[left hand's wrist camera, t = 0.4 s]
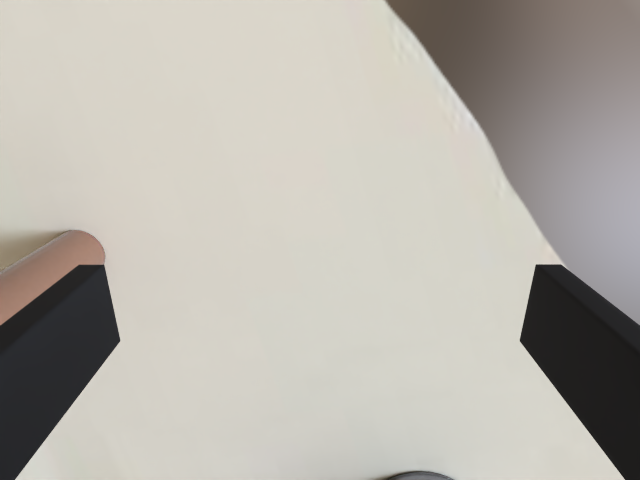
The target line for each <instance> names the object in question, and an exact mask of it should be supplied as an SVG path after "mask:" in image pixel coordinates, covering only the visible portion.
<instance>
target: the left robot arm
mask: <svg viewBox="0 0 640 480" xmlns="http://www.w3.org/2000/svg"><path fill="white" fill-rule="evenodd" d="M119 342H120V337H119V332H118V328H117V323H116V318H115V314H114V309H113V304H112V299H111V295H110V290H109V285H108V281H107V276H106V271H105V267H104V265H78V266H76V267H75V268H74V269H73V270H71V271H70V272H69V273H67V274H66V275H65V276H64V277H62V278H61V279H60V280H58V281H57V282H56V283H55V284H53V285H52V286H51V287H49V288H48V289H47V290H45V291H44V292H43V293H42V294H40V295H39V296H38V297H36V298H35V299H34V300H33V301H31V302H30V303H29V304H27V305H26V306H25V307H24V308H22V309H21V310H20V311H18V312H17V313H16V314H14V315H13V316H12V317H11V318H9V319H8V320H7V321H5V322H4V323H3V324H2V325H0V480H15V479H16V477H17V476H18V475H19V474H20V472H21V471H22V470H23V468H24V467H25V466H26V464H27V463H28V462H29V460H30V459H31V458H32V456H33V455H34V454H35V452H36V451H37V450H38V448H39V447H40V446H41V445H42V443H43V442H44V441H45V439H46V438H47V437H48V435H49V434H50V433H51V431H52V430H53V429H54V427H55V426H56V425H57V423H58V422H59V421H60V420H61V418H62V417H63V416H64V414H65V413H66V412H67V410H68V409H69V408H70V406H71V405H72V404H73V402H74V401H75V400H76V398H77V397H78V396H79V395H80V393H81V392H82V391H83V389H84V388H85V387H86V385H87V384H88V383H89V381H90V380H91V379H92V377H93V376H94V375H95V373H96V372H97V371H98V370H99V368H100V367H101V366H102V364H103V363H104V362H105V360H106V359H107V358H108V356H109V355H110V354H111V352H112V351H113V350H114V348H115V347H116V346H117V344H118V343H119ZM520 342H521V343H522V344H523V346H524V347H525V348H526V350H527V351H528V352H529V354H530V355H531V356H532V358H533V359H534V360H535V362H536V363H537V364H538V366H539V367H540V368H541V370H542V371H543V372H544V373H545V375H546V376H547V377H548V379H549V380H550V381H551V383H552V384H553V385H554V387H555V388H556V389H557V391H558V392H559V393H560V395H561V396H562V397H563V398H564V400H565V401H566V402H567V404H568V405H569V406H570V408H571V409H572V410H573V412H574V413H575V414H576V416H577V417H578V418H579V420H580V421H581V422H582V423H583V425H584V426H585V427H586V429H587V430H588V431H589V433H590V434H591V435H592V437H593V438H594V439H595V441H596V442H597V443H598V445H599V446H600V447H601V448H602V450H603V451H604V452H605V454H606V455H607V456H608V458H609V459H610V460H611V462H612V463H613V464H614V466H615V467H616V468H617V470H618V471H619V472H620V474H621V475H622V476H623V477H624V479H625V480H640V325H638V324H637V323H636V322H635V321H633V320H632V319H631V318H629V317H628V316H627V315H626V314H624V313H623V312H622V311H620V310H619V309H618V308H616V307H615V306H614V305H613V304H611V303H610V302H609V301H607V300H606V299H605V298H604V297H602V296H601V295H600V294H598V293H597V292H596V291H595V290H593V289H592V288H591V287H589V286H588V285H587V284H585V283H584V282H583V281H582V280H580V279H579V278H578V277H576V276H575V275H574V274H573V273H571V272H570V271H569V270H567V269H566V268H565V267H564V266H562V265H536V267H535V271H534V276H533V281H532V285H531V290H530V295H529V299H528V304H527V309H526V314H525V318H524V323H523V328H522V332H521V337H520ZM388 480H453V479H451V478H449V477H447V476H444V475H440V474H436V473H429V472H415V473H407V474H402V475H399V476H396V477H393V478H390V479H388Z"/></svg>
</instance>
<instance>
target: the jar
mask: <svg viewBox="0 0 640 480" xmlns="http://www.w3.org/2000/svg"><path fill="white" fill-rule="evenodd" d="M104 262H105V252H104V249H103V247H102V245H101V244H100V242H99V241H98V240H97V239H96V238H95V237H93V236H92V235H90V234H88V233H86V232H83V231H79V230H71V231H67V232H64V233H63V234H61V235H59V236H58V237H56V238H54V239H53V240H51V241H49V242H48V243H46V244H44V245H43V246H41V247H39V248H38V249H36V250H34V251H33V252H31V253H30V254H28V255H26V256H25V257H23V258H21V259H20V260H18V261H16V262H15V263H13V264H11V265H10V266H8V267H6V268H5V269H3V270H1V271H0V325H2V324H3V323H4V322H5V321H7V320H8V319H9V318H11V317H12V316H13V315H14V314H16V313H17V312H18V311H20V310H21V309H22V308H24V307H25V306H26V305H27V304H29V303H30V302H31V301H33V300H34V299H35V298H36V297H38V296H39V295H40V294H42V293H43V292H44V291H45V290H47V289H48V288H49V287H51V286H52V285H53V284H55V283H56V282H57V281H58V280H60V279H61V278H62V277H64V276H65V275H66V274H67V273H69V272H70V271H71V270H73V269H74V268H75V267H76V266H78V265H104Z"/></svg>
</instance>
